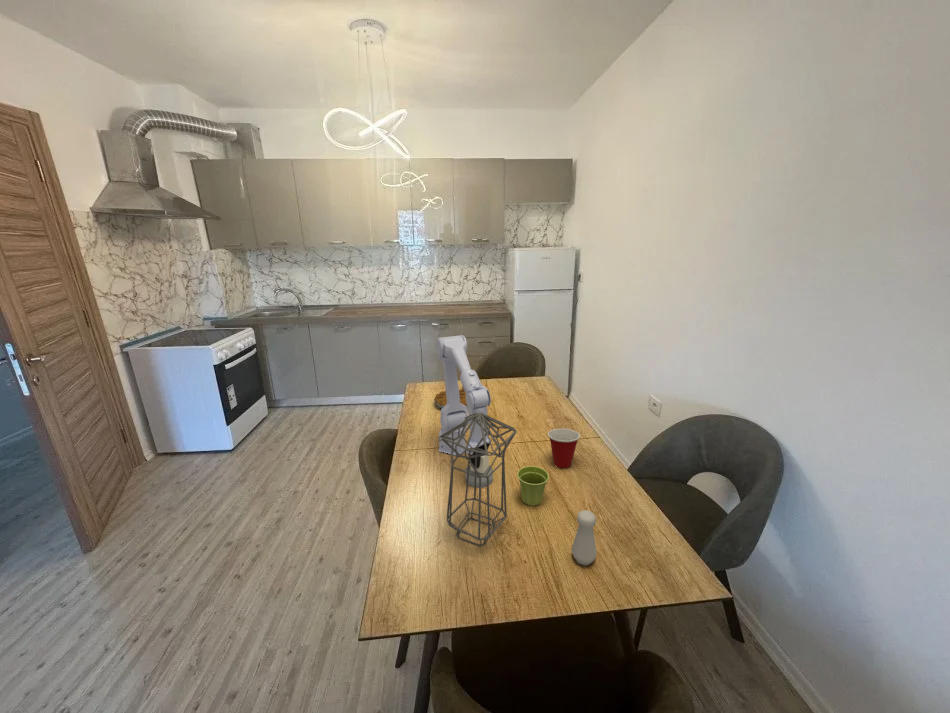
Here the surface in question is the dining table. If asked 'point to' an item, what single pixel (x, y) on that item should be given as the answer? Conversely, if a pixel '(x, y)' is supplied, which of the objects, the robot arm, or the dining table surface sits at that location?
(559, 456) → the plastic cup
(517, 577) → the dining table surface
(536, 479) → the plant pot
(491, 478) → the grey disc
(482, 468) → the cream block
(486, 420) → the geometric lantern
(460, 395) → the pie
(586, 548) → the salt shaker
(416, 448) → the dining table surface
